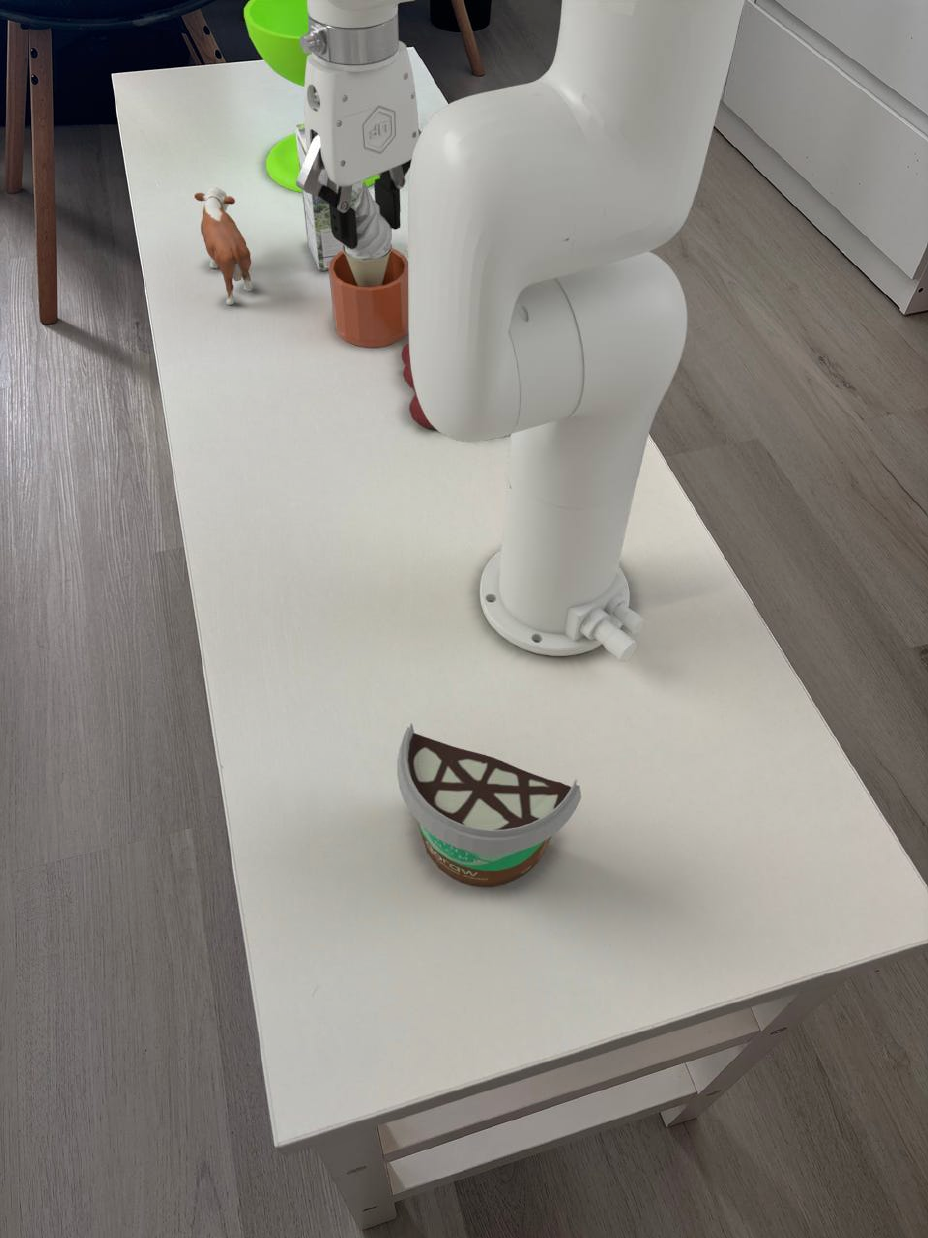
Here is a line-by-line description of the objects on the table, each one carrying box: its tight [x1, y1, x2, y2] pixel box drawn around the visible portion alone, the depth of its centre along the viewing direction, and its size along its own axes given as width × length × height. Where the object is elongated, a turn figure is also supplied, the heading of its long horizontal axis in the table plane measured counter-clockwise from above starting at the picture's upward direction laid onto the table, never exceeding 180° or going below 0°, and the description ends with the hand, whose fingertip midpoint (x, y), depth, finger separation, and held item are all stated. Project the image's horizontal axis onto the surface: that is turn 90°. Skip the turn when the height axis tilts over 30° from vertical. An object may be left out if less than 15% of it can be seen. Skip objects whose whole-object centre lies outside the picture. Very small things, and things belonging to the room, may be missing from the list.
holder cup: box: [328, 247, 409, 348], centre depth 103 cm, size 8×8×7 cm
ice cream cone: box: [342, 182, 393, 287], centre depth 99 cm, size 5×5×15 cm
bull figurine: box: [194, 186, 253, 306], centre depth 108 cm, size 4×13×8 cm, turn 18°
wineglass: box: [243, 0, 380, 194], centre depth 120 cm, size 16×16×18 cm
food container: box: [396, 722, 582, 888], centre depth 65 cm, size 12×6×10 cm, turn 69°
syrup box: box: [294, 123, 362, 272], centre depth 108 cm, size 6×6×14 cm
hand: (367, 230), depth 97 cm, fingers closed on ice cream cone, 4 cm apart
